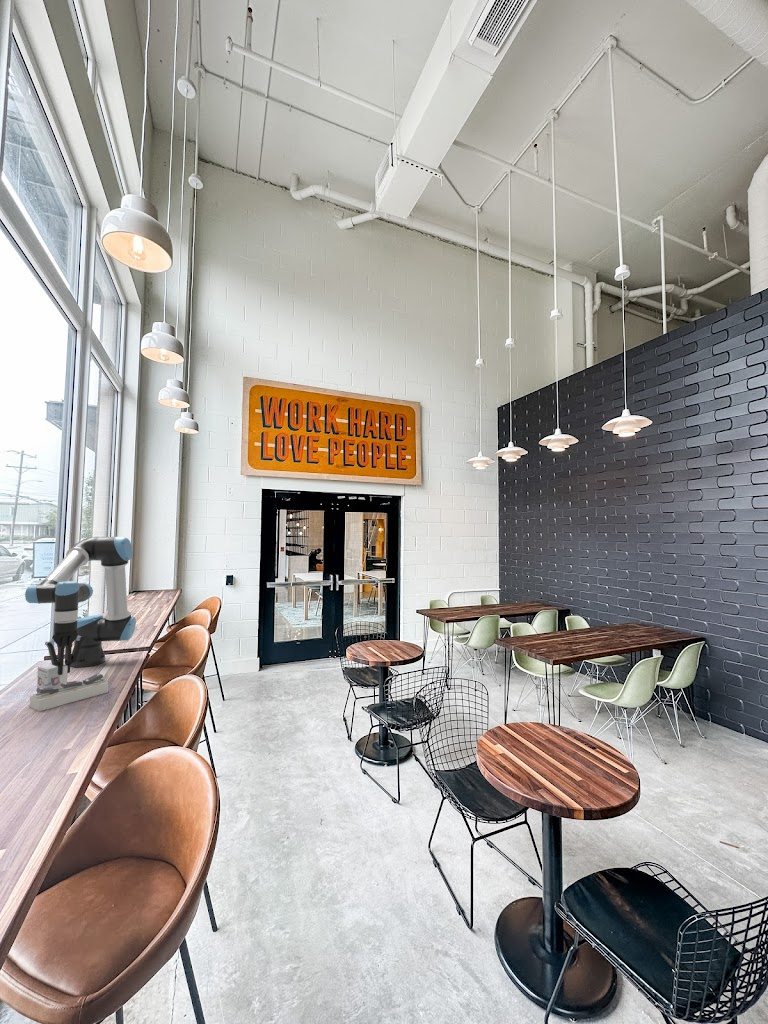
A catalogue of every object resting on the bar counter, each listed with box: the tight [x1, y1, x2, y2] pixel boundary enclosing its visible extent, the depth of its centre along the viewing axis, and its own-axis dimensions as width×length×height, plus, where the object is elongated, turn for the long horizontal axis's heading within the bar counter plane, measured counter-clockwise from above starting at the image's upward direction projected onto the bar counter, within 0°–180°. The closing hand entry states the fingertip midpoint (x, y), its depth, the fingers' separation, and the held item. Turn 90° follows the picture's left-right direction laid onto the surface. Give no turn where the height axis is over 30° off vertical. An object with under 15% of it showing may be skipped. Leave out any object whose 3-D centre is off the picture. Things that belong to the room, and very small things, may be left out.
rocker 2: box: [60, 680, 83, 688], centre depth 176 cm, size 6×4×1 cm, turn 147°
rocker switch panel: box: [29, 678, 109, 712], centre depth 176 cm, size 24×8×5 cm, turn 147°
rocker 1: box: [35, 687, 59, 693], centre depth 169 cm, size 6×4×1 cm, turn 147°
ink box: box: [36, 662, 61, 694], centre depth 180 cm, size 9×5×12 cm, turn 62°
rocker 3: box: [82, 672, 104, 685], centre depth 183 cm, size 6×4×1 cm, turn 147°
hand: (63, 682), depth 174 cm, fingers closed
